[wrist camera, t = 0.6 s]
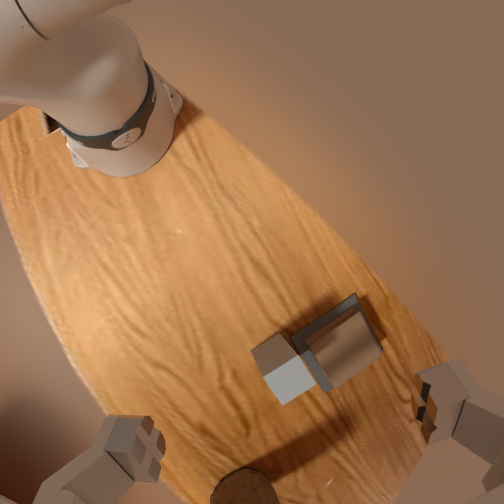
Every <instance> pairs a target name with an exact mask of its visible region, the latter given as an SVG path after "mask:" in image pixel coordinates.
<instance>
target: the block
mask: <svg viewBox="0 0 504 504" xmlns="http://www.w3.org/2000/svg"><path fill="white" fill-rule="evenodd" d="M210 504H279V501H278V498H277V495H276V493H275V490H274V488H273V487H272V485H271V484H270V482H269V481H268V480H267V478H266V477H265V476H264V475H263V474H262V473H260V472H259V471H253V470H251V469H242V470H239V471H236V472H234V473H232V474H230V475H228V476H227V477H226V478H225V479H224V480H223V481H221V482H220V483H219V484H217V486H216V487H215V489H214V491H213V494H211V496H210Z"/></svg>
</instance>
